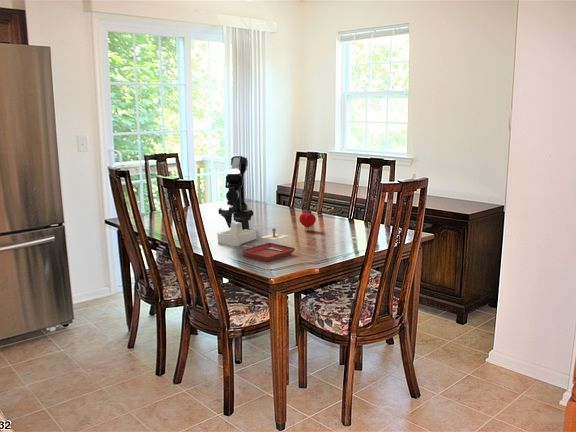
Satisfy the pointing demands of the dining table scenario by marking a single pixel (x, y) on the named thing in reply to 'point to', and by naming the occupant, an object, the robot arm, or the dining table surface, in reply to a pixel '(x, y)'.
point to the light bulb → (307, 220)
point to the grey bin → (236, 237)
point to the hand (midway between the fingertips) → (236, 228)
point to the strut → (236, 228)
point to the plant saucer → (268, 251)
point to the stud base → (274, 235)
